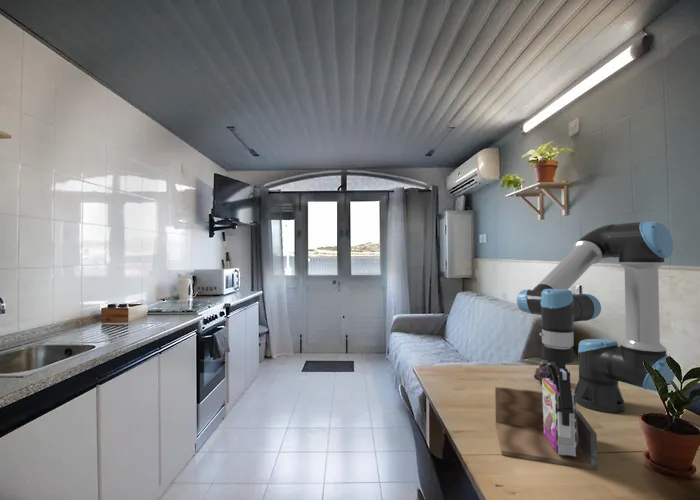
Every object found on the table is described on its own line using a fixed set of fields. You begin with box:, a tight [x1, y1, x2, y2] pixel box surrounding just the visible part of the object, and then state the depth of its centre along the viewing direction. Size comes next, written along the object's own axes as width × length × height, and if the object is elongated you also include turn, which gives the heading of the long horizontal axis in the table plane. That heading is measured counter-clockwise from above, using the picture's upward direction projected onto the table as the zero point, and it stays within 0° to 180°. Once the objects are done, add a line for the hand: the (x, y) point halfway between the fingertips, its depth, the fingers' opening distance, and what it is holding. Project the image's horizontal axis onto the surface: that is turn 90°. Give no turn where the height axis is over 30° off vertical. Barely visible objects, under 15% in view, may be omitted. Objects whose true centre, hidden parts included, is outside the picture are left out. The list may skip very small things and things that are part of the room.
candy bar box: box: [541, 378, 577, 457], centre depth 95 cm, size 11×5×16 cm, turn 168°
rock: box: [533, 359, 547, 386], centre depth 148 cm, size 12×9×10 cm
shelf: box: [494, 386, 598, 471], centre depth 99 cm, size 22×18×12 cm
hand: (558, 425), depth 95 cm, fingers closed on candy bar box, 11 cm apart
